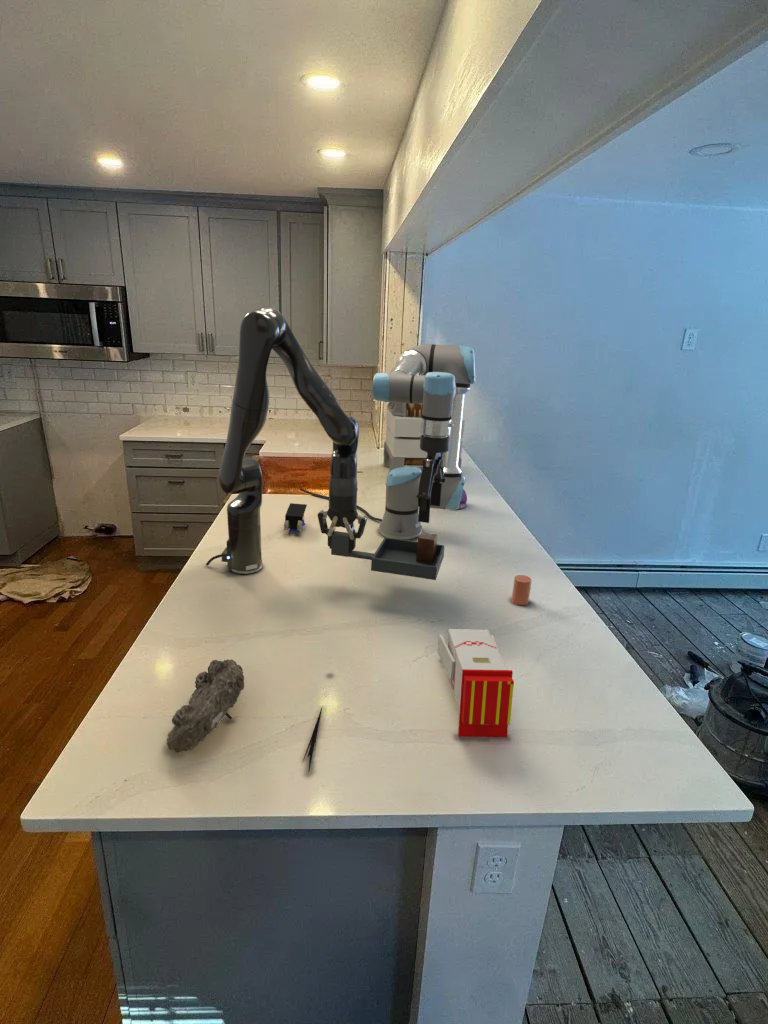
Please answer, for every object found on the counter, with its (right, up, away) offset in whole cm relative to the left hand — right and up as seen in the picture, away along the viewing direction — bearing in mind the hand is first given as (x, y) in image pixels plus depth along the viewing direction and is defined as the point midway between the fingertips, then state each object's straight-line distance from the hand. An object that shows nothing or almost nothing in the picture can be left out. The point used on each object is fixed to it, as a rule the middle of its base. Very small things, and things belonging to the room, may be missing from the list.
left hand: (341, 548), depth 157 cm
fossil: (-21, -29, -49) cm, 61 cm away
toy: (+30, -27, -39) cm, 56 cm away
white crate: (+29, +29, +118) cm, 125 cm away
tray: (+12, -3, -2) cm, 13 cm away
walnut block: (+23, -3, -2) cm, 24 cm away
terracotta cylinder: (+49, -14, -1) cm, 51 cm away
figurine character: (-19, +4, +42) cm, 46 cm away
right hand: (+24, +10, -6) cm, 27 cm away
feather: (-1, -30, -49) cm, 57 cm away
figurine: (+41, +13, +73) cm, 85 cm away
